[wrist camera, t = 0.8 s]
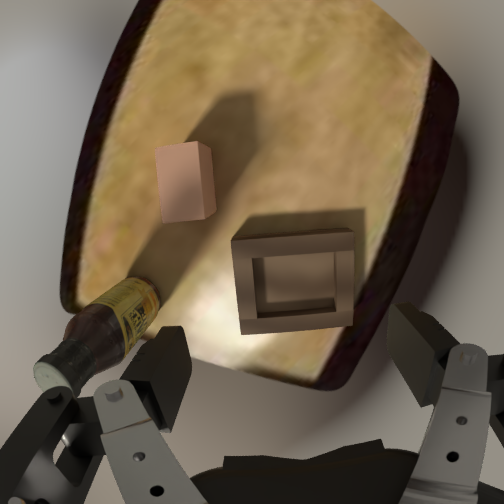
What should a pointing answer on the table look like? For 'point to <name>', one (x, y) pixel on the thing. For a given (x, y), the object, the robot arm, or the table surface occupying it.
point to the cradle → (294, 280)
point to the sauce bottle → (100, 335)
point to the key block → (185, 182)
